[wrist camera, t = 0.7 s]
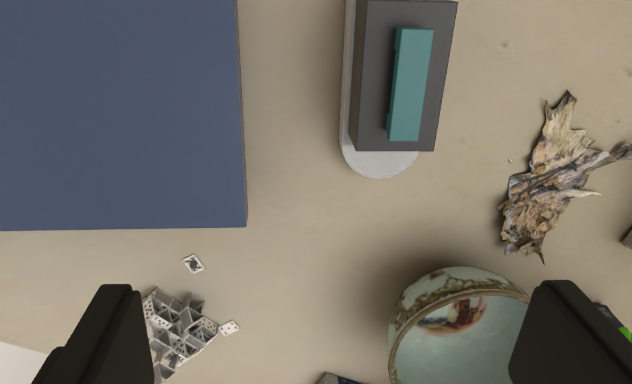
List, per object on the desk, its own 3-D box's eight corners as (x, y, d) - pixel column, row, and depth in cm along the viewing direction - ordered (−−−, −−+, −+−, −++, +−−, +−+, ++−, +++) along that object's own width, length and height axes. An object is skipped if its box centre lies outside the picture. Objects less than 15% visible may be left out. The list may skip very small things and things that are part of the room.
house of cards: (268, 304, 40) (265, 372, 33) (209, 354, 42) (195, 428, 35) (189, 250, 36) (168, 314, 30) (130, 309, 39) (98, 381, 32)
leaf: (491, 261, 39) (501, 275, 37) (503, 97, 32) (516, 104, 30) (611, 242, 39) (626, 255, 38) (648, 75, 32) (669, 81, 31)
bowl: (517, 322, 43) (564, 391, 36) (390, 360, 44) (411, 434, 37) (500, 213, 37) (552, 270, 30) (352, 261, 38) (369, 327, 31)
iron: (347, -23, 28) (366, -21, 21) (437, -20, 28) (481, -18, 22) (336, 169, 34) (349, 213, 28) (410, 169, 34) (438, 212, 28)
